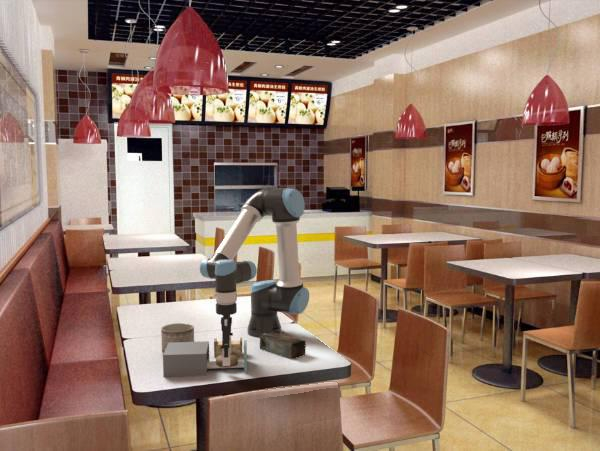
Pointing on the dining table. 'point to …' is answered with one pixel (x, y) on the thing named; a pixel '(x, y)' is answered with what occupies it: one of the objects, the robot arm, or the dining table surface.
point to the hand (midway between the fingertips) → (227, 359)
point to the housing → (185, 359)
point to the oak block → (235, 348)
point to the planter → (176, 334)
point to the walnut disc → (232, 360)
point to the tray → (240, 364)
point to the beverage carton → (282, 345)
